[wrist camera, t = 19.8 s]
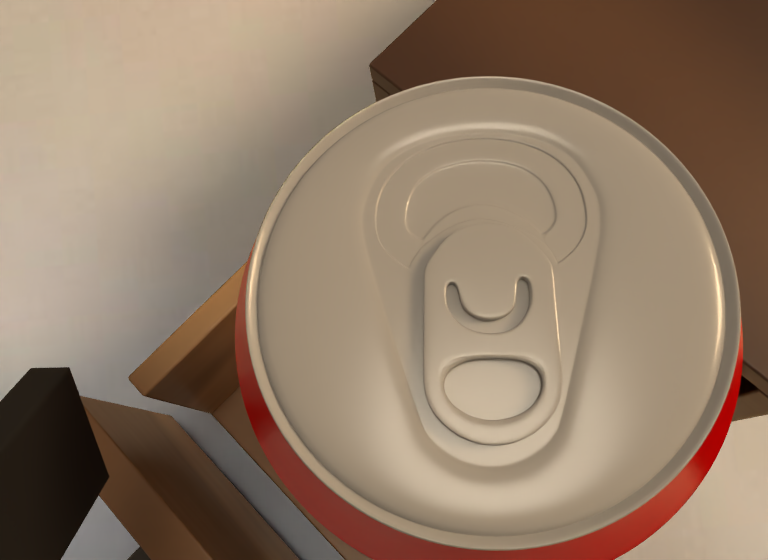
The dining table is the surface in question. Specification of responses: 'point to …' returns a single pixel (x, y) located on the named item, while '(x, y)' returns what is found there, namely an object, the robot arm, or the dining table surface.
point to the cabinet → (635, 101)
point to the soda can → (490, 327)
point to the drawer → (189, 451)
